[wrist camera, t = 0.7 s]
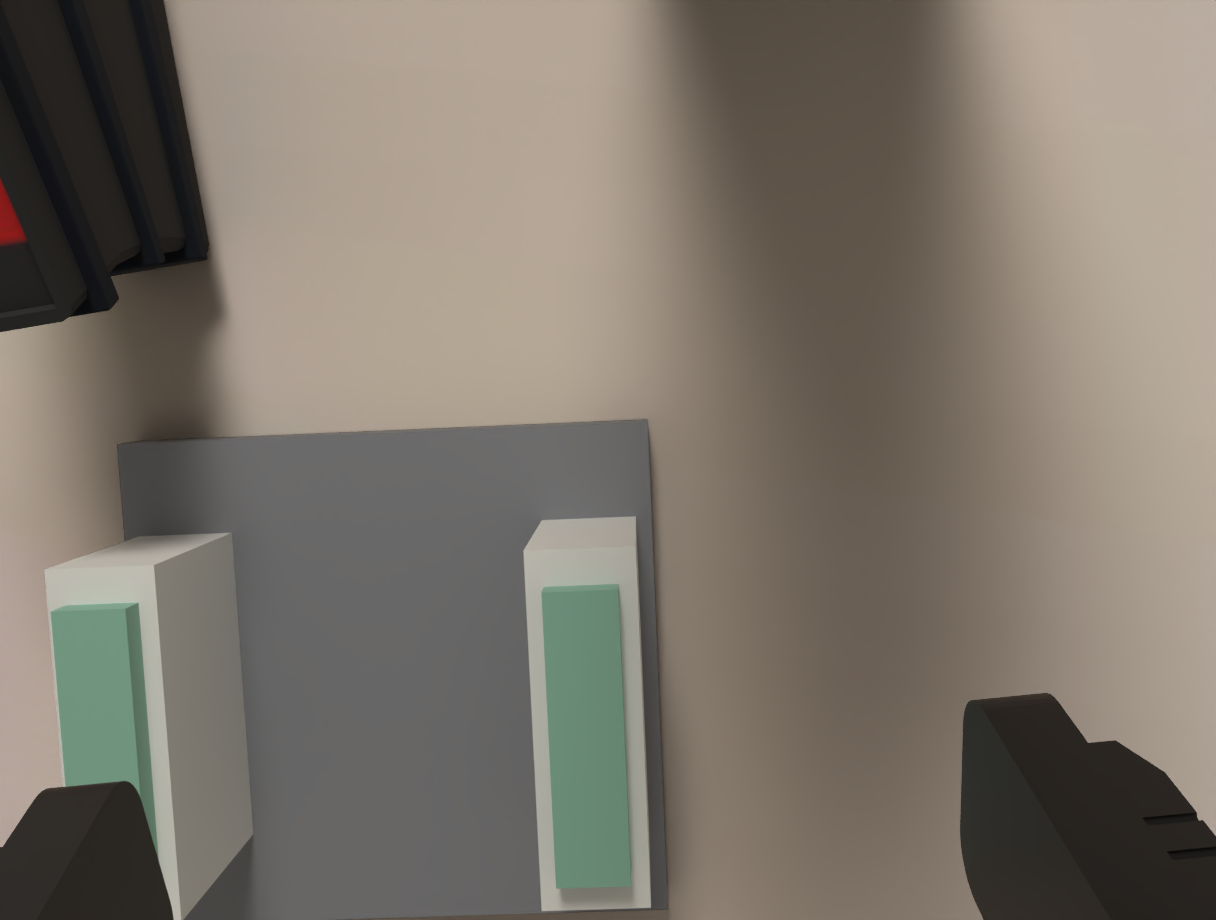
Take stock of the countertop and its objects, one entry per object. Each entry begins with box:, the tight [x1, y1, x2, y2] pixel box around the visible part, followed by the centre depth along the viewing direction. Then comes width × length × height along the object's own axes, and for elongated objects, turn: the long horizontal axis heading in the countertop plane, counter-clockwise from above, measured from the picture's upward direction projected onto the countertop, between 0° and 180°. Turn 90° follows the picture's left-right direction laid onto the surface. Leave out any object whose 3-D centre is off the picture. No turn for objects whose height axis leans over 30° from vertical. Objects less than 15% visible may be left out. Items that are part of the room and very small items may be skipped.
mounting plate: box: [44, 419, 668, 920], centre depth 35 cm, size 16×17×8 cm
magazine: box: [0, 0, 209, 332], centre depth 32 cm, size 4×13×15 cm, turn 9°
